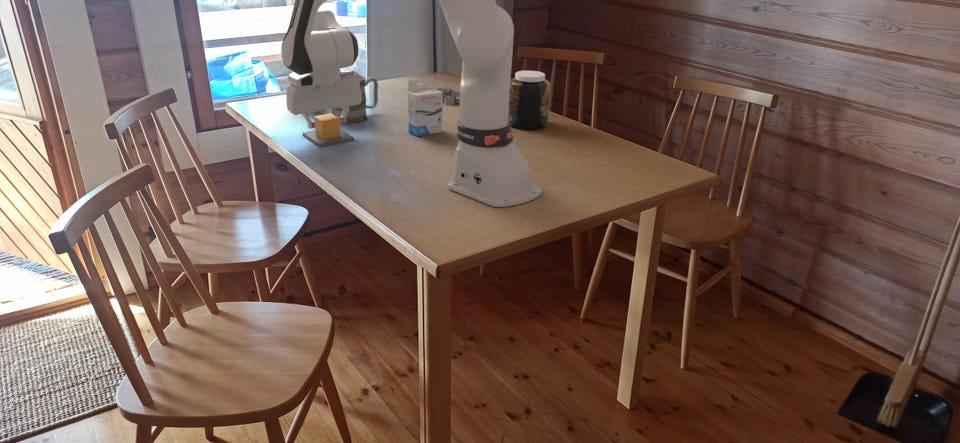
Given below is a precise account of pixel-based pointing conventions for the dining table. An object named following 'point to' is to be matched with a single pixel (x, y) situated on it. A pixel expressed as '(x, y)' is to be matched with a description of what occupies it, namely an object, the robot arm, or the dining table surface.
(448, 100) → the egg carton
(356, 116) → the mug
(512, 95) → the jar
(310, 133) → the plate
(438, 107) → the ink box
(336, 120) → the orange cubic block
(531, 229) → the dining table surface
